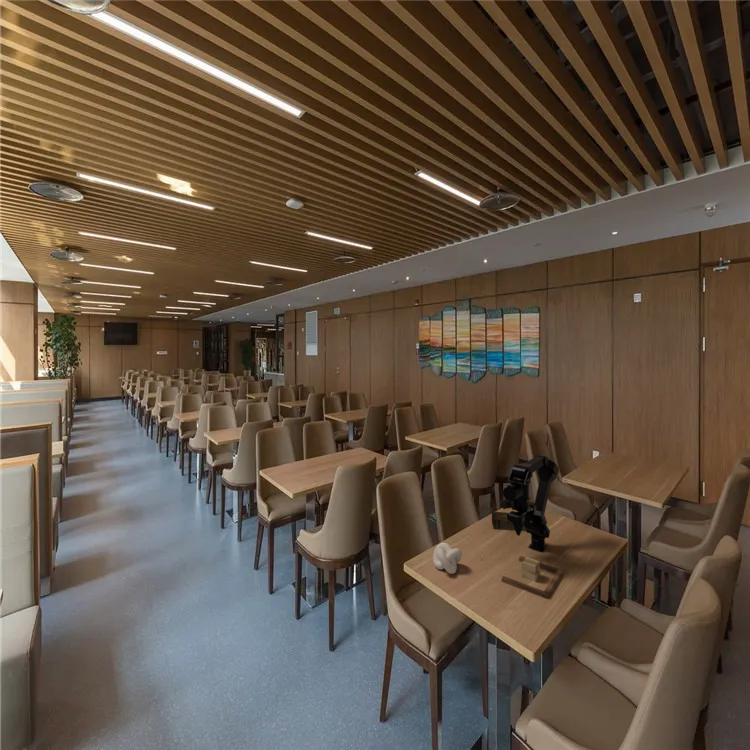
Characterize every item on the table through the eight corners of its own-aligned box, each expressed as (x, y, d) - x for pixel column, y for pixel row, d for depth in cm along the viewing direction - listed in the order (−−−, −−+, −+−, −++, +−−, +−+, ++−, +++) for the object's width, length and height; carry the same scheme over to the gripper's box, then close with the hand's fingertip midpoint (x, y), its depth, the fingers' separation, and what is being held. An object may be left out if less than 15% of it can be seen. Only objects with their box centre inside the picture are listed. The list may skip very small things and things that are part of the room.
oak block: (526, 571, 147) (526, 557, 147) (539, 576, 144) (539, 561, 143) (521, 577, 143) (521, 562, 143) (535, 582, 140) (535, 566, 140)
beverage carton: (533, 532, 181) (533, 519, 180) (492, 529, 184) (492, 516, 184) (530, 525, 188) (529, 512, 188) (491, 523, 192) (490, 510, 192)
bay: (520, 559, 156) (520, 556, 156) (562, 573, 145) (562, 569, 145) (501, 581, 141) (501, 577, 141) (547, 598, 130) (547, 594, 130)
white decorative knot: (425, 568, 151) (425, 547, 151) (442, 557, 159) (442, 536, 159) (449, 579, 143) (448, 557, 143) (465, 567, 151) (465, 545, 151)
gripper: (511, 485, 168) (511, 518, 168) (494, 497, 154) (494, 533, 154) (536, 490, 160) (536, 525, 161) (521, 503, 146) (521, 541, 147)
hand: (522, 531), depth 156 cm, fingers open, 9 cm apart
